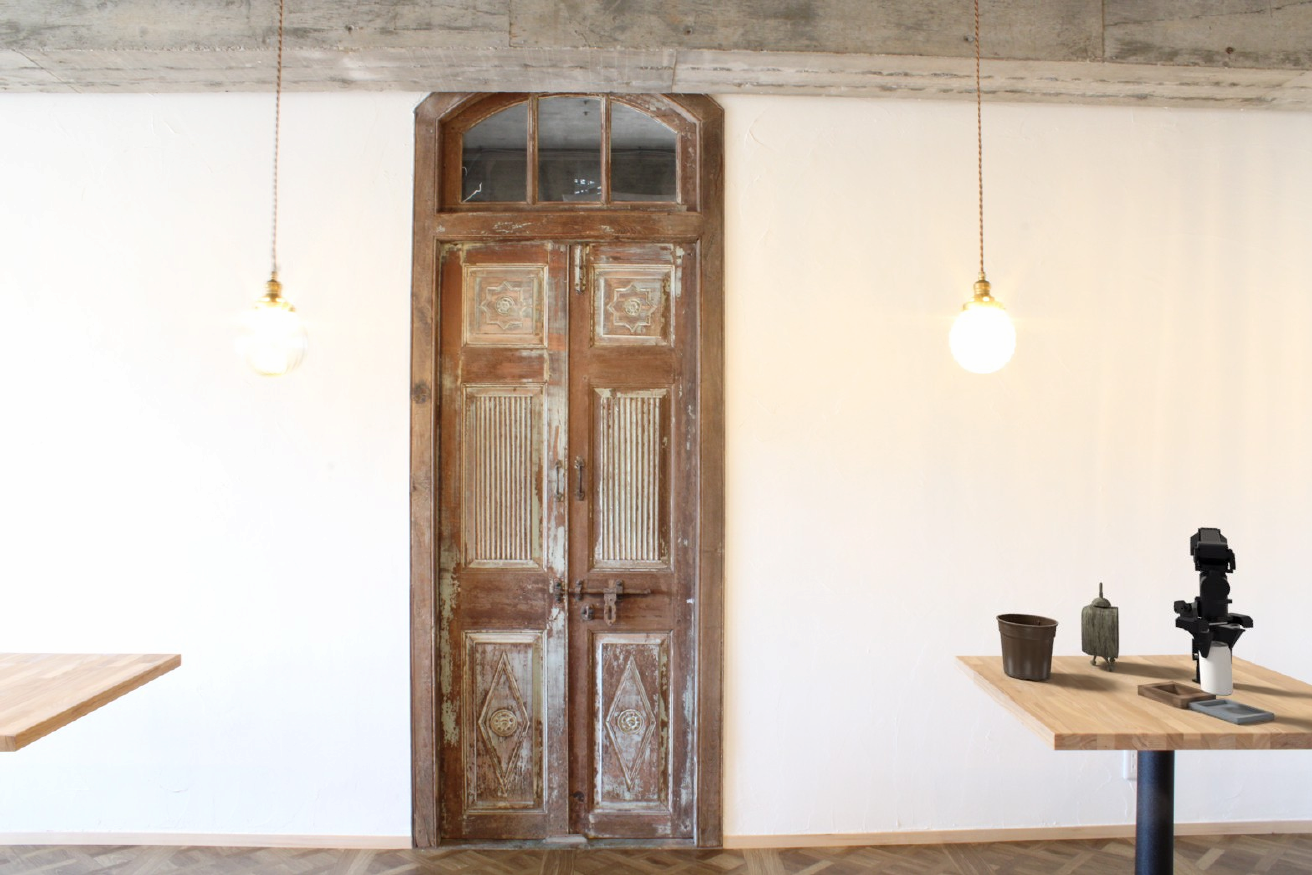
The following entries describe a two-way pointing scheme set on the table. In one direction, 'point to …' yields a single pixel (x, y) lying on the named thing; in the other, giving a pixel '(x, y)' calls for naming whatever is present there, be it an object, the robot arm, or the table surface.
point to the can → (1217, 670)
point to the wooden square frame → (1165, 690)
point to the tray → (1231, 711)
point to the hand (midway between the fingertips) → (1214, 656)
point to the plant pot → (1027, 645)
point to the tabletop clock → (1100, 630)
